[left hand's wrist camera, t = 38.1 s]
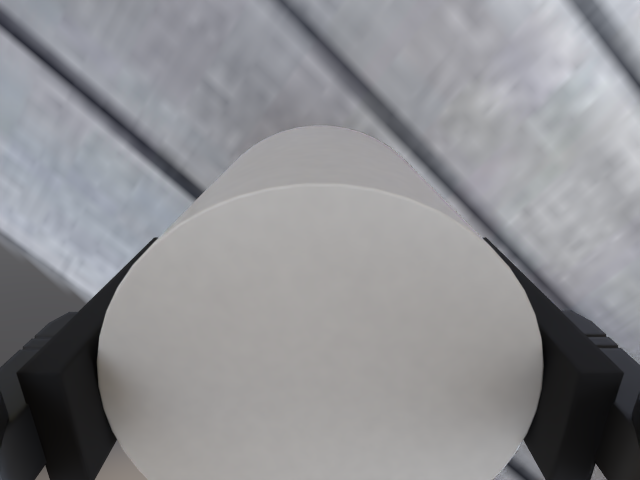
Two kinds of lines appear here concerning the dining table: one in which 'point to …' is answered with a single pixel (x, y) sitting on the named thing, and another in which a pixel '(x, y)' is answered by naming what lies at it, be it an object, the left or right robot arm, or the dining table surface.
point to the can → (320, 328)
